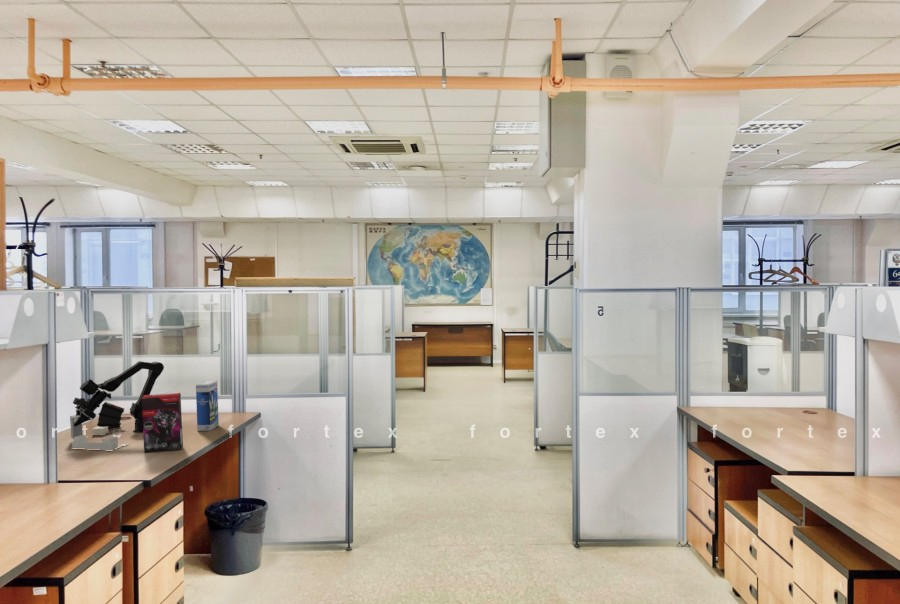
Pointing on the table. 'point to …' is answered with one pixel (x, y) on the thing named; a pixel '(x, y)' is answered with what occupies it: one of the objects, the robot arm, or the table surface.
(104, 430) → the block
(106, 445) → the rail plate
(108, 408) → the black flat block
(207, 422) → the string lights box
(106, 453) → the table surface
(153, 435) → the graphics card box
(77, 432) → the module
